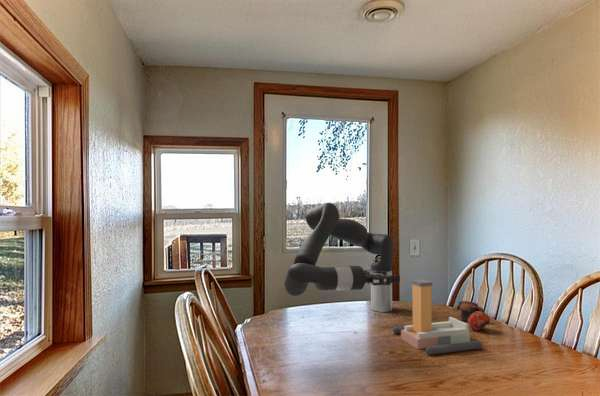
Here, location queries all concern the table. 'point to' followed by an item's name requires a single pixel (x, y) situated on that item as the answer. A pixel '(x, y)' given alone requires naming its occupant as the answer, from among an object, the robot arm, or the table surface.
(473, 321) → the pomegranate
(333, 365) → the table surface
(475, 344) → the dark grey bar
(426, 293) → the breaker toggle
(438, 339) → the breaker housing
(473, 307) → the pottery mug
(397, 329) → the cord bundle
